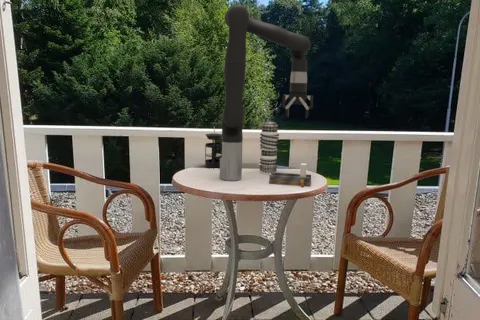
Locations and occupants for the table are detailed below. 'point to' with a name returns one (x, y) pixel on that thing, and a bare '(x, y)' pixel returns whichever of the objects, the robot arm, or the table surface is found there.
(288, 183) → the slider track
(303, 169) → the slider tab
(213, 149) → the french press
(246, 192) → the table surface
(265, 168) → the decorative candle
